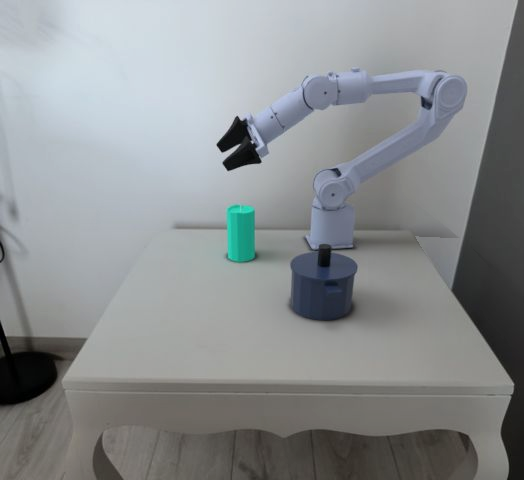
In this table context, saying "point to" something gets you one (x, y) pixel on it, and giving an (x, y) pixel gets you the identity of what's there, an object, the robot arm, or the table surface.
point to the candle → (241, 232)
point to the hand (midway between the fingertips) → (221, 157)
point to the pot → (321, 298)
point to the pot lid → (323, 265)
